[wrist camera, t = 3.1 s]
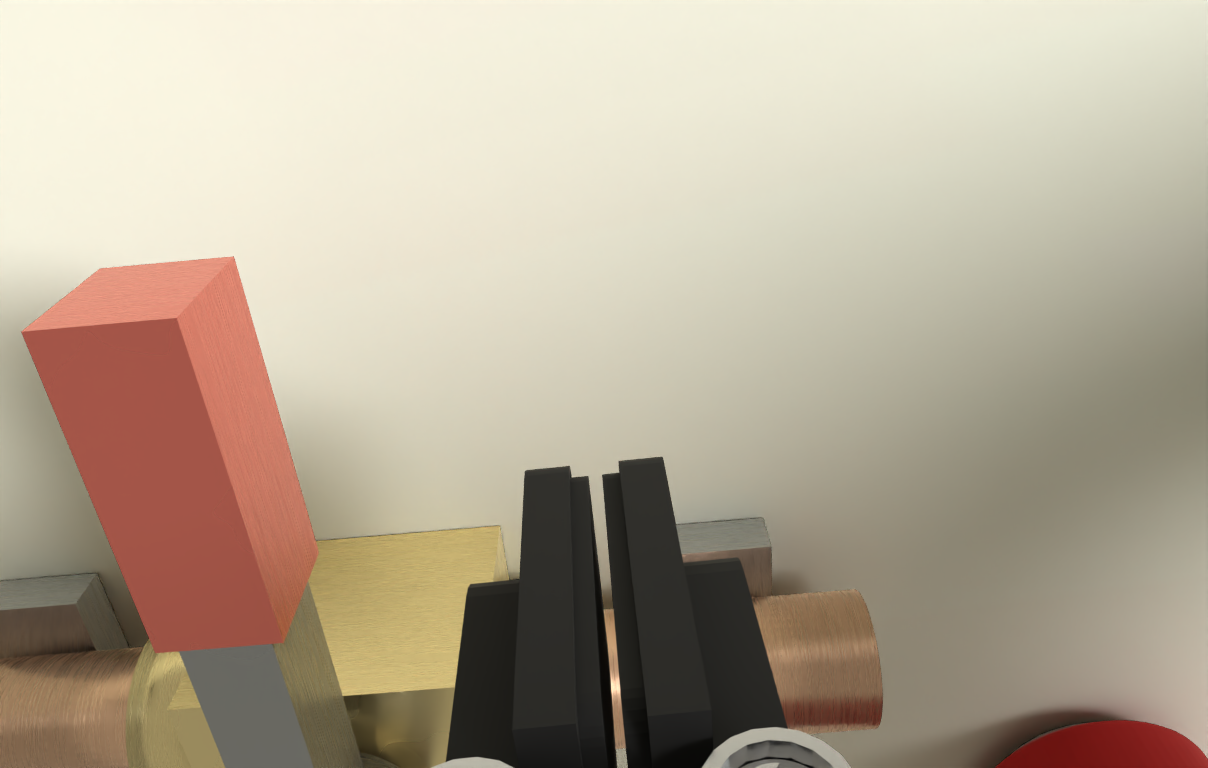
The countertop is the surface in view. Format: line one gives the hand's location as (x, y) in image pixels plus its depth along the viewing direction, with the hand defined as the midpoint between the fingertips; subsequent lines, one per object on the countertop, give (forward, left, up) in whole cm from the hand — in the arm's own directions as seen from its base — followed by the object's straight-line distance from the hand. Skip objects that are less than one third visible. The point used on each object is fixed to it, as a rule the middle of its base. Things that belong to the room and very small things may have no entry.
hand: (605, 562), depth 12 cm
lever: (+6, +3, -4) cm, 8 cm away
